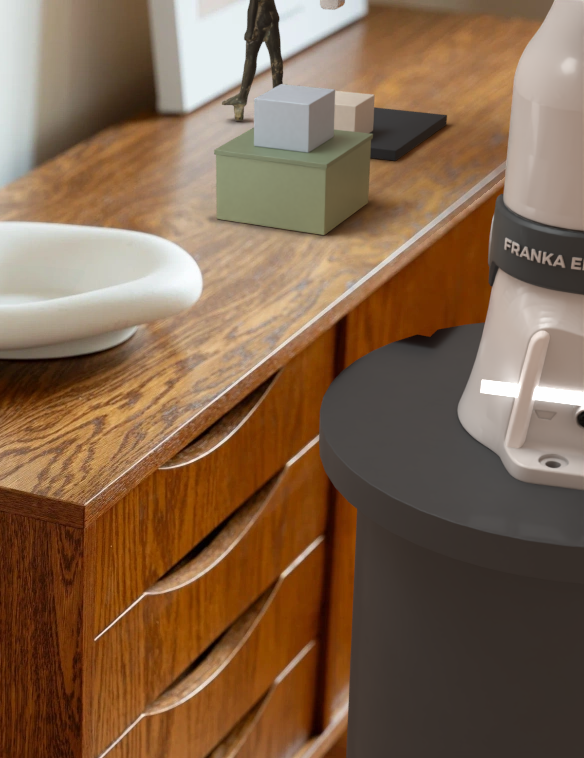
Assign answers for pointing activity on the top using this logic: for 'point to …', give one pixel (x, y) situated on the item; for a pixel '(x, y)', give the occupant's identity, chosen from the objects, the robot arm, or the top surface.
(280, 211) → the storage box
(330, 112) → the gray box
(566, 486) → the robot arm
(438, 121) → the mat
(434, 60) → the top surface
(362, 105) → the beige cube
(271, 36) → the statue
